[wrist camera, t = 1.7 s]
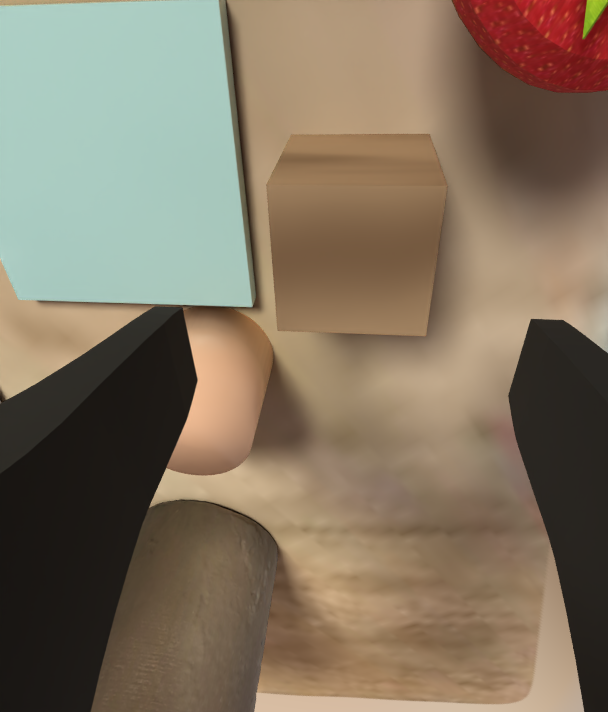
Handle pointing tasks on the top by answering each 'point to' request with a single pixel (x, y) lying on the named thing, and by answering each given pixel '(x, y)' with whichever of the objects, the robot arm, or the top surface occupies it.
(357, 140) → the walnut block
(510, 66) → the strawberry
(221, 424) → the peach domed cylinder
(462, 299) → the top surface
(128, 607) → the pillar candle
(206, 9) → the coaster
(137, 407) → the robot arm
